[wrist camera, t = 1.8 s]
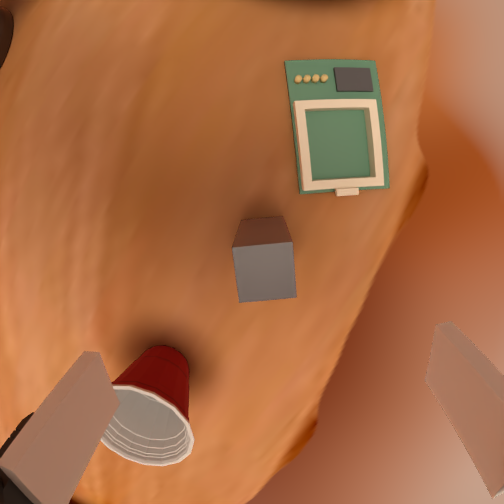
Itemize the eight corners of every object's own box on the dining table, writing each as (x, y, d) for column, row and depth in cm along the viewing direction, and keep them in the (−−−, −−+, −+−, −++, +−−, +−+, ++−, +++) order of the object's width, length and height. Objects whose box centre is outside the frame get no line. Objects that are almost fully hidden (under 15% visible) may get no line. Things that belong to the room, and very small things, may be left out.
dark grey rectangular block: (241, 219, 31) (231, 247, 21) (282, 215, 30) (292, 241, 21) (247, 267, 32) (240, 312, 22) (287, 263, 32) (297, 307, 22)
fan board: (284, 62, 26) (286, 52, 23) (373, 62, 26) (383, 53, 23) (299, 195, 30) (303, 198, 27) (387, 189, 29) (399, 192, 26)
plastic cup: (226, 350, 35) (211, 426, 23) (192, 407, 38) (173, 478, 26) (139, 308, 34) (92, 369, 22) (116, 371, 37) (78, 434, 25)
